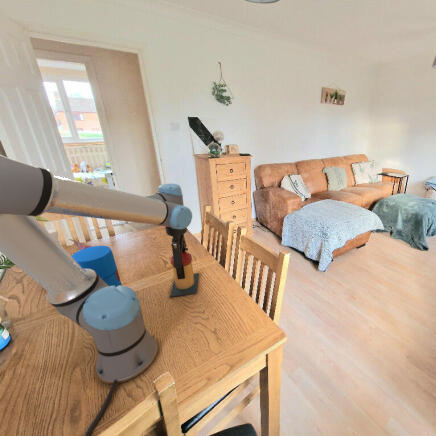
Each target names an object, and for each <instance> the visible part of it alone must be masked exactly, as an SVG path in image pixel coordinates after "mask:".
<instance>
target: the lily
mask: <svg viewBox="0 0 436 436" xmlns="http://www.w3.org/2000/svg"><path fill="white" fill-rule="evenodd" d="M68 240H69V241H71V242H73V244H72V245H73V246H76V247H77V248H78V251H80V250H82V249H85V248H89V247H93V246H92V245H89V244H85V243H82V242H79V241H76V240H74V239H71V238H68Z"/></svg>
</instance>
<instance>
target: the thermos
mask: <svg viewBox="0 0 436 436" xmlns="http://www.w3.org/2000/svg"><path fill="white" fill-rule="evenodd" d="M71 256H72V257H73V259H74V260H75V261H76V262H77V263H78V264H79V265H80V266H81V267H82V268H83V269H92V270H94V271H95V272H96V273H97V274H98V275H99V277H100V278H101V279H102V280H103V281H104V282H105V283H106V284H107V285H109V286H116V287H117V286H119V285H121V286H123V284H122V281H121V278H120V277H121V276H120V273H119V270H118V267H117V263H116V259H115V256H114V253H113V251H112V248H111V247H110V246H107V245H94V246H93V247H89V248H85V249H82V250H80V251H79V250H78V251H76V252H74V253H73V254H72V255H71Z"/></svg>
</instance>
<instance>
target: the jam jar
mask: <svg viewBox="0 0 436 436" xmlns="http://www.w3.org/2000/svg"><path fill="white" fill-rule="evenodd" d="M171 267H172V273H173V279H175V285H176V287H177V288H178V289H187V288H189V287H191V286H193V284H194V282H195V281H194V274H195V273H194V268H193V260H192V261H191V263H189V264H188V265H185V266H184V272H185V279H178V277H177V272H176V268H174V267H173V265H172V264H171Z"/></svg>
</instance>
